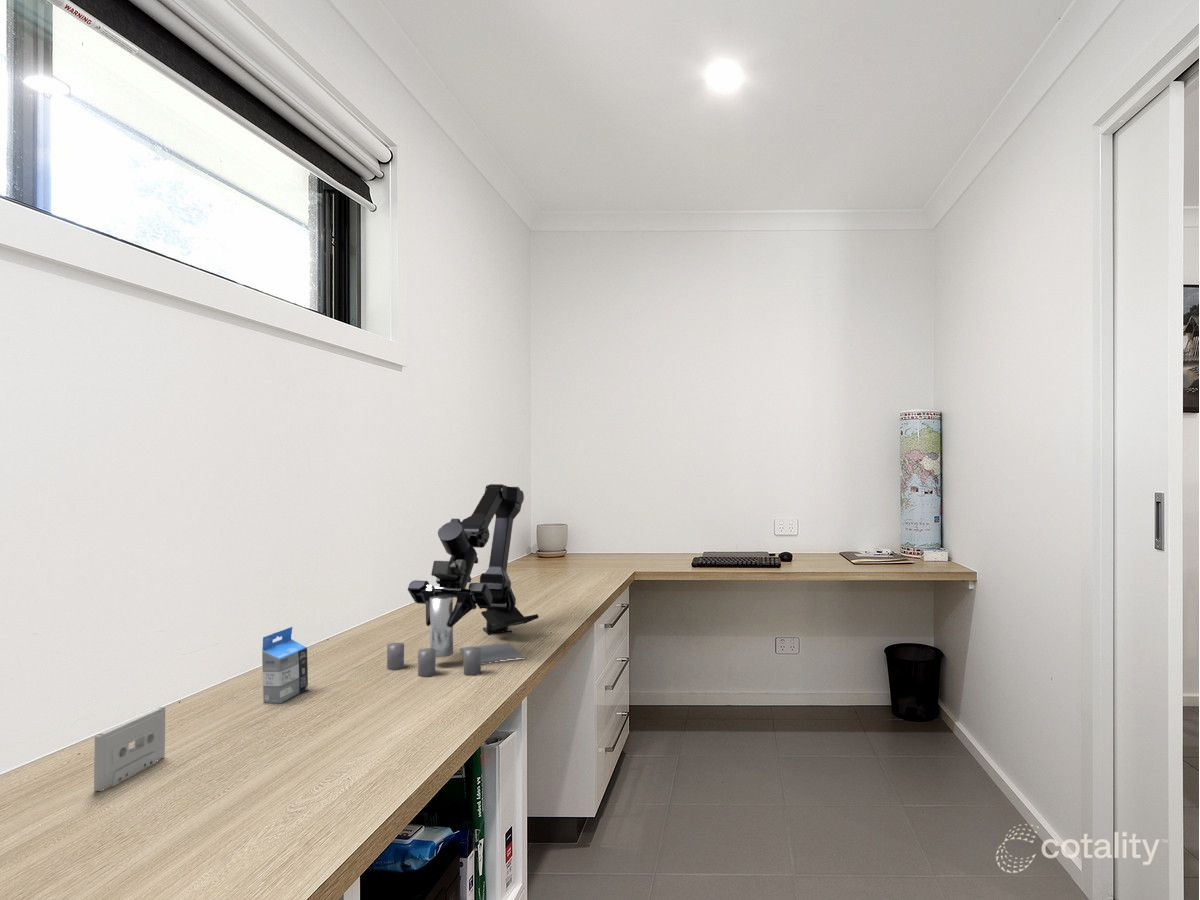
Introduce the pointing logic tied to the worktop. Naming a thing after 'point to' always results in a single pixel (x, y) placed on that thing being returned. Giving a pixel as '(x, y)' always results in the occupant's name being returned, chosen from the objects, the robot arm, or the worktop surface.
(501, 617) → the handheld gaming console
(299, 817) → the worktop surface
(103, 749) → the cassette
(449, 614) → the ball
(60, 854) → the worktop surface
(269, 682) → the label tape box
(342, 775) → the worktop surface
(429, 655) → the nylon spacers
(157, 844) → the worktop surface
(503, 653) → the rubber mat
